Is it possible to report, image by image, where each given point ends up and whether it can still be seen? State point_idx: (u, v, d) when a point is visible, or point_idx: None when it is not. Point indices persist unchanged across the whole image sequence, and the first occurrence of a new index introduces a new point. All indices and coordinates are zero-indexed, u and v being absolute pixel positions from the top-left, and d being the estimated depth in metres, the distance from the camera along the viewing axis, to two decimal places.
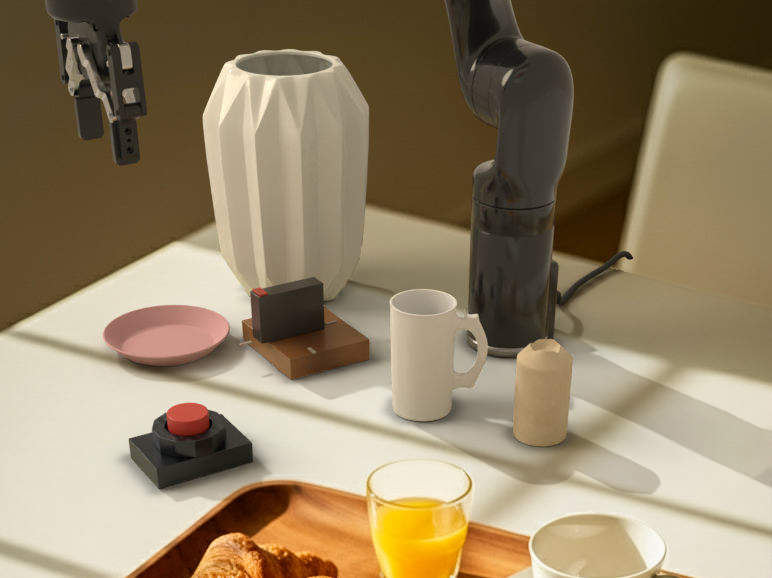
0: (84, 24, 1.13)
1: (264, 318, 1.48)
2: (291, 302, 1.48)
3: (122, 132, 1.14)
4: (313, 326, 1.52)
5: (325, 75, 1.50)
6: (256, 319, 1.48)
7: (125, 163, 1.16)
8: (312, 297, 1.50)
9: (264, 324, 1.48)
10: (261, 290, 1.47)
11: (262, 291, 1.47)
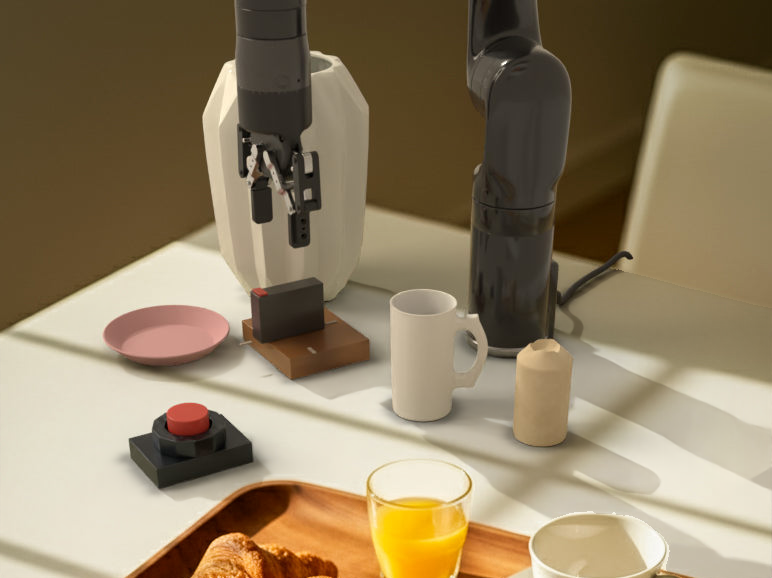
0: (270, 134, 1.37)
1: (264, 318, 1.48)
2: (291, 302, 1.48)
3: (299, 222, 1.39)
4: (313, 326, 1.52)
5: (325, 75, 1.50)
6: (256, 319, 1.48)
7: (298, 246, 1.41)
8: (312, 297, 1.50)
9: (264, 324, 1.48)
10: (261, 290, 1.47)
11: (262, 291, 1.47)
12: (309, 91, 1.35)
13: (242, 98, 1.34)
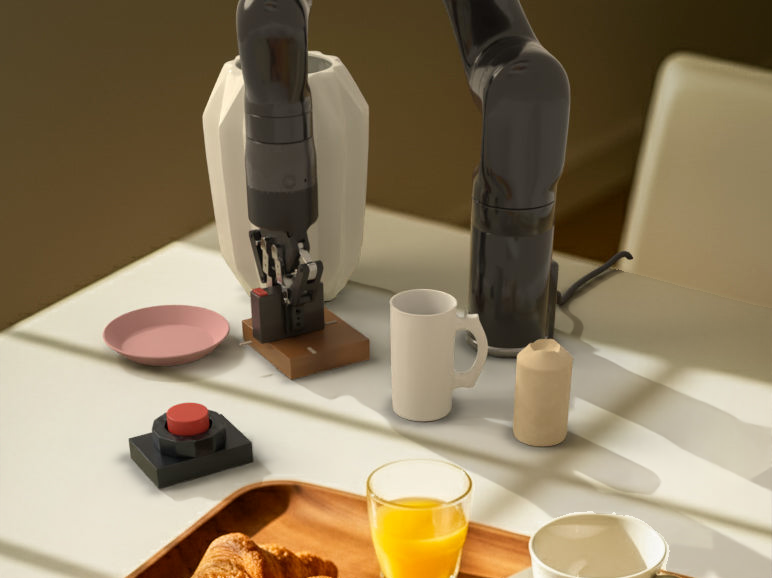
0: None
1: (264, 318, 1.48)
2: None
3: (294, 313, 1.48)
4: (313, 326, 1.52)
5: (325, 75, 1.50)
6: (256, 319, 1.48)
7: (293, 334, 1.50)
8: None
9: (264, 324, 1.48)
10: (261, 290, 1.47)
11: (262, 291, 1.47)
12: (315, 189, 1.41)
13: (251, 196, 1.41)
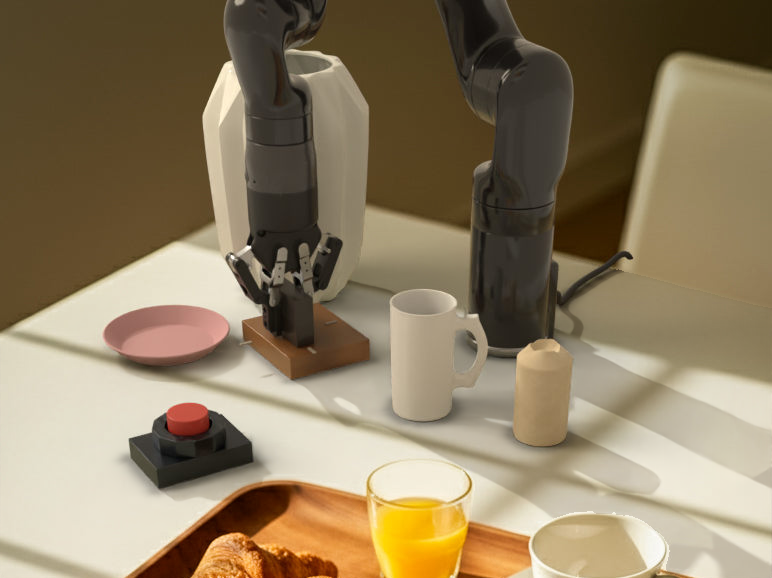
0: None
1: None
2: None
3: (263, 309, 1.49)
4: (290, 338, 1.49)
5: (325, 75, 1.50)
6: None
7: (270, 332, 1.51)
8: (289, 309, 1.47)
9: None
10: None
11: None
12: (270, 199, 1.39)
13: None
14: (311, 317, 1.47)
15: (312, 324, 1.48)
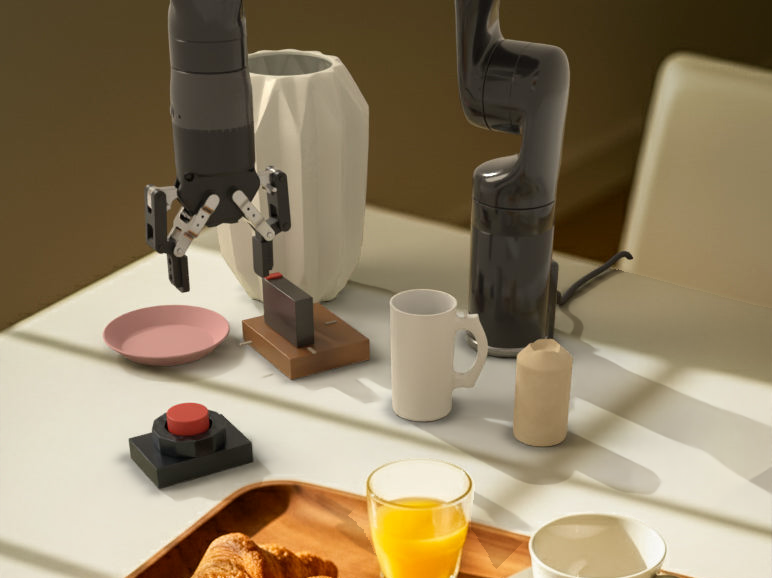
0: None
1: (264, 299, 1.52)
2: (278, 300, 1.49)
3: (168, 260, 1.29)
4: (290, 338, 1.49)
5: (325, 75, 1.50)
6: None
7: (177, 288, 1.31)
8: (289, 309, 1.47)
9: (264, 304, 1.52)
10: (274, 275, 1.51)
11: (271, 276, 1.50)
12: (197, 136, 1.22)
13: None
14: (311, 317, 1.47)
15: (312, 324, 1.48)
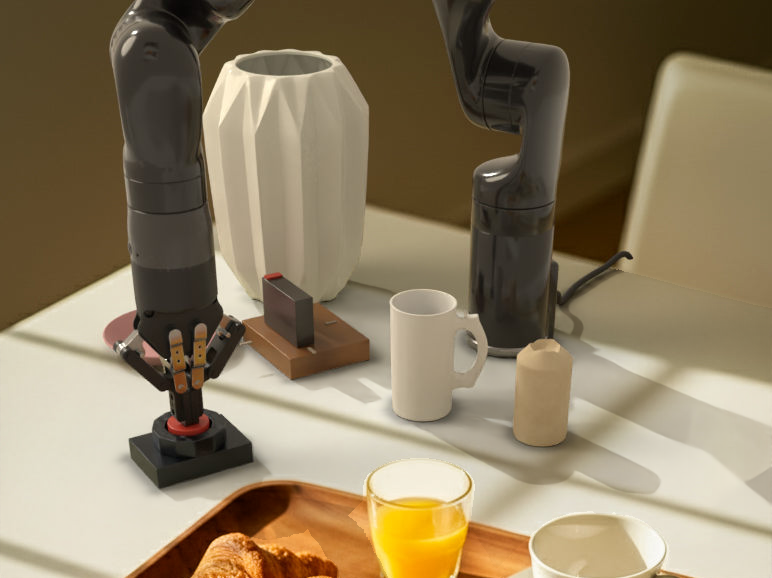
0: None
1: (264, 299, 1.52)
2: (278, 300, 1.49)
3: (169, 395, 1.28)
4: (290, 338, 1.49)
5: (325, 75, 1.50)
6: None
7: None
8: (289, 309, 1.47)
9: (264, 304, 1.52)
10: (274, 275, 1.51)
11: (271, 276, 1.50)
12: (156, 275, 1.18)
13: None
14: (311, 317, 1.47)
15: (312, 324, 1.48)
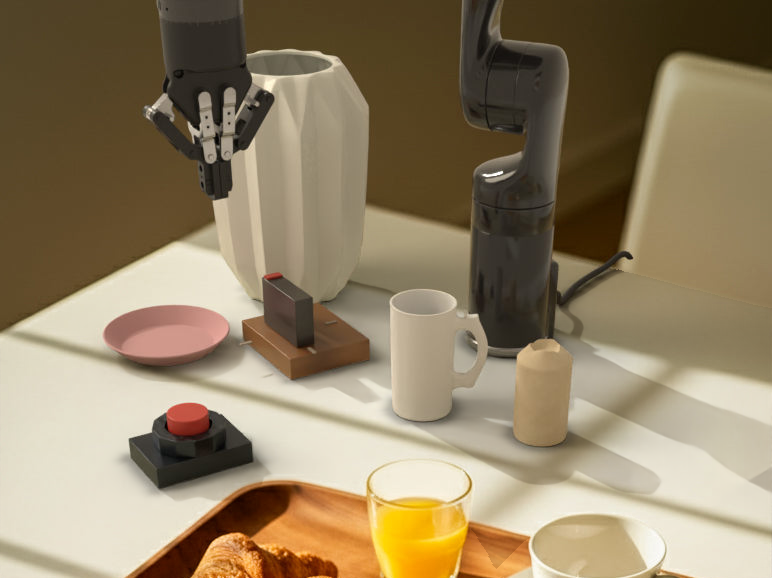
0: None
1: (264, 299, 1.52)
2: (278, 300, 1.49)
3: (199, 167, 1.28)
4: (290, 338, 1.49)
5: (325, 75, 1.50)
6: None
7: (209, 196, 1.30)
8: (289, 309, 1.47)
9: (264, 304, 1.52)
10: (274, 275, 1.51)
11: (271, 276, 1.50)
12: (185, 29, 1.18)
13: None
14: (311, 317, 1.47)
15: (312, 324, 1.48)
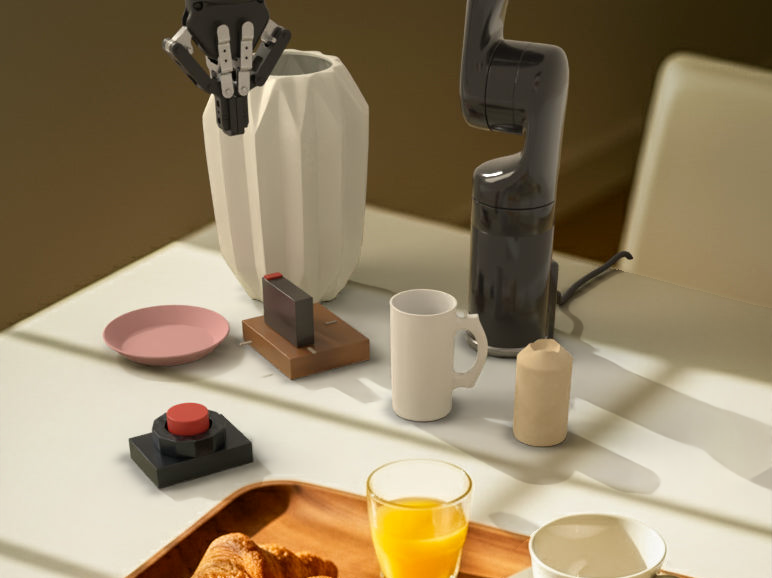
0: None
1: (264, 299, 1.52)
2: (278, 300, 1.49)
3: (216, 103, 1.30)
4: (290, 338, 1.49)
5: (325, 75, 1.50)
6: None
7: (225, 132, 1.32)
8: (289, 309, 1.47)
9: (264, 304, 1.52)
10: (274, 275, 1.51)
11: (271, 276, 1.50)
12: None
13: None
14: (311, 317, 1.47)
15: (312, 324, 1.48)
